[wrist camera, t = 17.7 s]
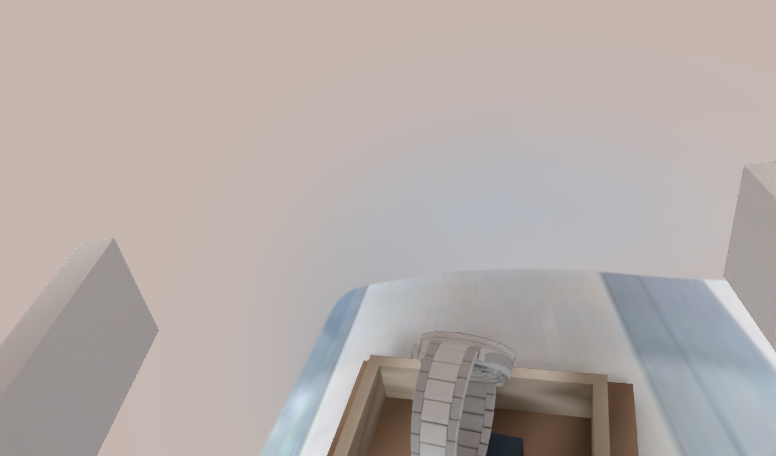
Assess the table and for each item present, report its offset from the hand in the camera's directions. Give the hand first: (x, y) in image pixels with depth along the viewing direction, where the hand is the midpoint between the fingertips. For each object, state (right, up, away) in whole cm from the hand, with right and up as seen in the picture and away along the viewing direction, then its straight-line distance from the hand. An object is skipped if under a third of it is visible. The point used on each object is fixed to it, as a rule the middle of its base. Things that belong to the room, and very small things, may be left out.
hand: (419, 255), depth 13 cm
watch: (+4, -14, +21) cm, 26 cm away
